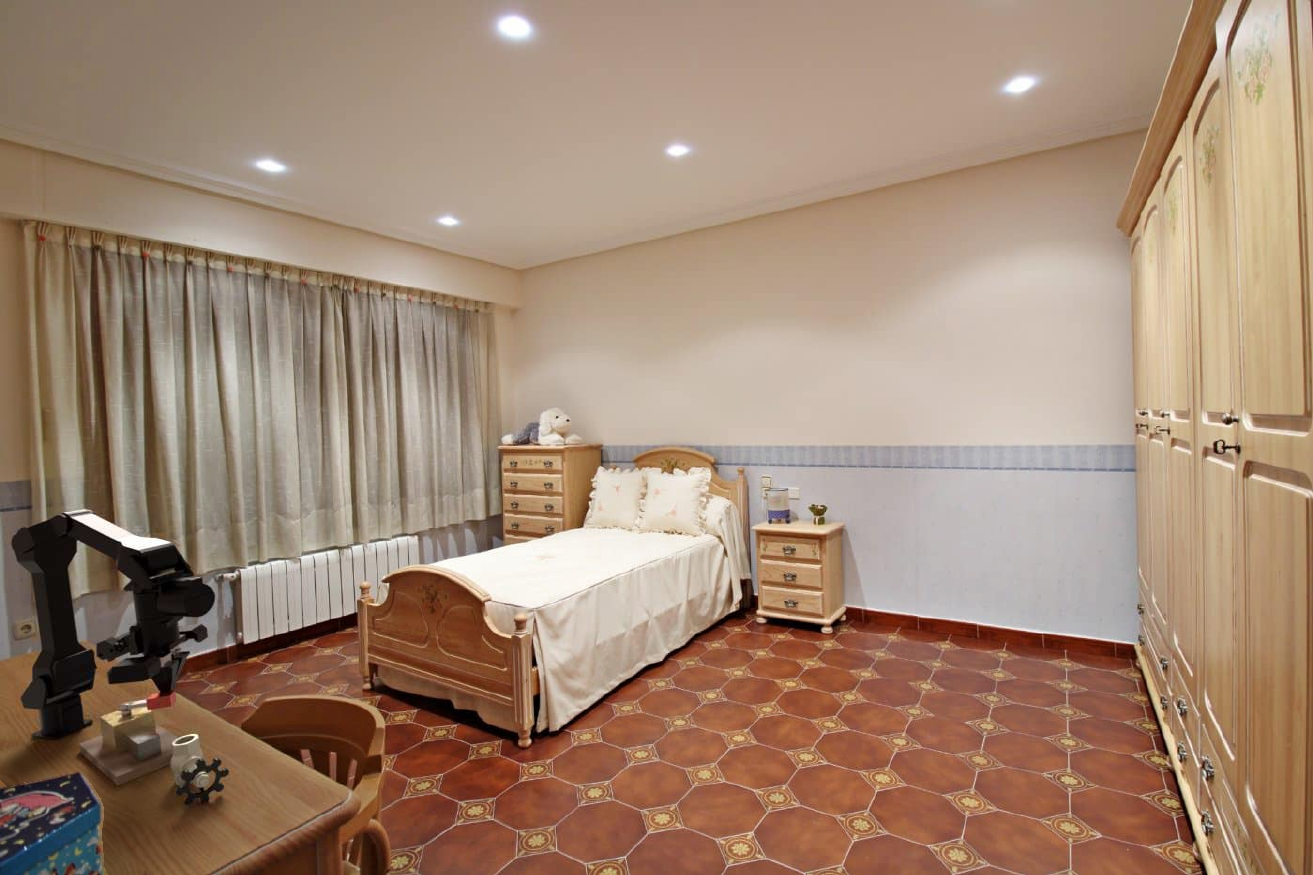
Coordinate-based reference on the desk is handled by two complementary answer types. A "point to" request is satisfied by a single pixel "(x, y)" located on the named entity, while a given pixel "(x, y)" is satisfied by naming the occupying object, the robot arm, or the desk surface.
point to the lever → (152, 701)
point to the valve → (194, 769)
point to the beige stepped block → (131, 733)
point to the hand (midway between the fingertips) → (166, 697)
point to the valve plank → (127, 758)
